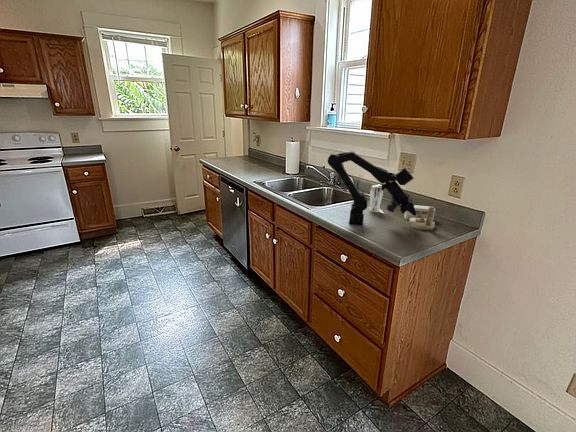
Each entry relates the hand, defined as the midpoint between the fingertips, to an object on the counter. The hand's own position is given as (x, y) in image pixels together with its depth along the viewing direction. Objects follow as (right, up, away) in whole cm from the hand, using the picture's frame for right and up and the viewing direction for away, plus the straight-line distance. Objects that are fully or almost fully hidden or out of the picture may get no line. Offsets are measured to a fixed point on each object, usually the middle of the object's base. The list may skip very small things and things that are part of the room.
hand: (415, 215), depth 155 cm
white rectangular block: (+8, -2, +15) cm, 17 cm away
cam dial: (+5, -5, +6) cm, 10 cm away
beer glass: (-13, +2, +26) cm, 30 cm away
